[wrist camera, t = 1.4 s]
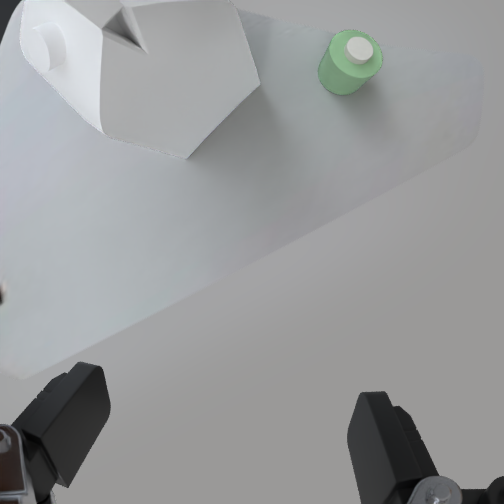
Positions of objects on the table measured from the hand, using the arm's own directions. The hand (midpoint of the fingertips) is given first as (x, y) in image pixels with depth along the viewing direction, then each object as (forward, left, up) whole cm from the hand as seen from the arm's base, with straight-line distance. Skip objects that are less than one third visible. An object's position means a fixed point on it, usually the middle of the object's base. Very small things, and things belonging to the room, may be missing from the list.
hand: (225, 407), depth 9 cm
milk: (-17, -7, -27) cm, 33 cm away
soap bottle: (-18, +10, -27) cm, 34 cm away
